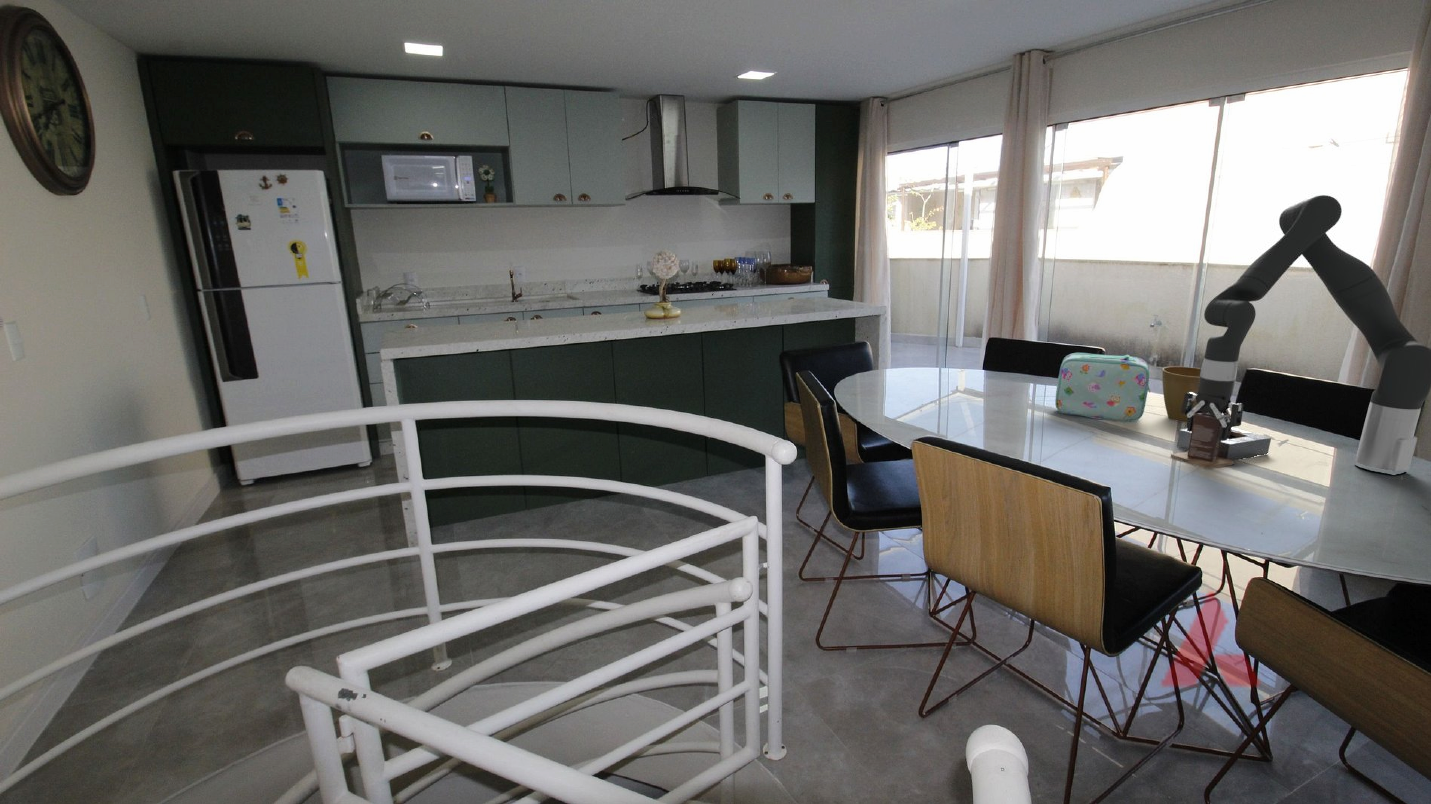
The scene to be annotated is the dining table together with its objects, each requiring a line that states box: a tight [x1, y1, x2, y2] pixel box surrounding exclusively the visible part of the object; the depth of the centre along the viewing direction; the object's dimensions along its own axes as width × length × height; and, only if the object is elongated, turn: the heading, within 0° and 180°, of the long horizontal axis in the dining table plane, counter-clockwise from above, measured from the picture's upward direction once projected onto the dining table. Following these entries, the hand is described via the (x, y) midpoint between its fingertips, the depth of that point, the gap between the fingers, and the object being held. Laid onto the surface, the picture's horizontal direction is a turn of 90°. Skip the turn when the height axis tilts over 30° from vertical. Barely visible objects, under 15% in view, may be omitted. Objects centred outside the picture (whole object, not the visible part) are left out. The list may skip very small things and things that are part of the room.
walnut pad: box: [1170, 451, 1235, 470], centre depth 180 cm, size 10×10×1 cm
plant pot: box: [1161, 365, 1201, 423], centre depth 216 cm, size 15×15×16 cm
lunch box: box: [1054, 352, 1151, 422], centre depth 219 cm, size 27×10×21 cm, turn 59°
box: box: [1187, 412, 1223, 462], centre depth 179 cm, size 6×4×12 cm
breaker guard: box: [1176, 427, 1272, 462], centre depth 187 cm, size 14×16×5 cm
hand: (1206, 435), depth 178 cm, fingers open, 8 cm apart
